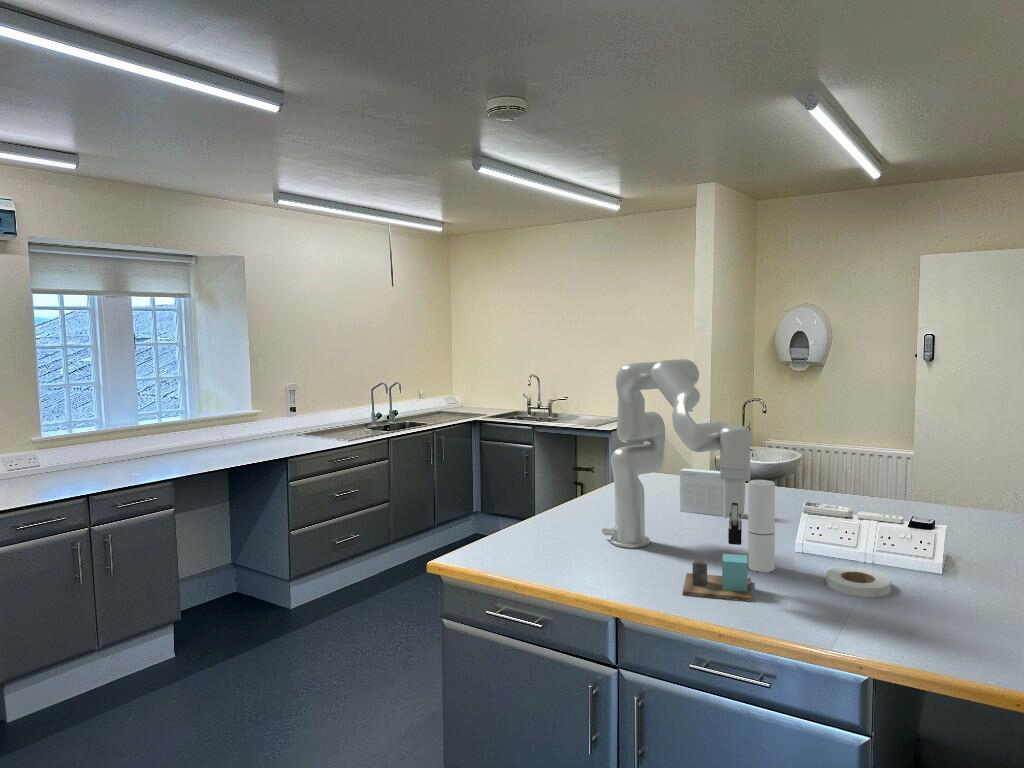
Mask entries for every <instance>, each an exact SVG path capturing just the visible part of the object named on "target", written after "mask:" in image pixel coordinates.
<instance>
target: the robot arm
mask: <svg viewBox="0 0 1024 768" xmlns="http://www.w3.org/2000/svg"><path fill="white" fill-rule="evenodd" d="M697 366H698V365H696V363H695V362H694V361H692V360H690V359H687V358H686V359H685V358H681V359H679V358H677V359H666V360H665V359H664V360H661V361H652V362H651V361H649V362H648V361H646V362H633V363H629V364H625V365H622V366H621V367H620V368H619V369H618V371H617V374H616V376H615V388H616V394H617V417H616V418H617V421H616V423H617V424H616V434H617V437H618V439H619V441H621V442H622V443H626V444H629V443H631V444H632V443H643V444H637V445H635V444H634V445H627V446H622V447H619V448H617V449H615V450H614V451H613V452H612V454H611V456H610V463H611V465H610V466H611V470H612V475H613V486H614V522H615V523H614V525H615V526H614V527H612V528H608V527H602V529H601V532H602V533H601V534H603V535H604V536H611V537H610V543H611V544H612V545H614V546H617V547H620V548H629V549H635V548H642V547H643V548H644V547H646V546H648V545H649V544H650V543H651V541H650V540H651V539H650V537H649V536H647V535H645V533H646V532H645V531H646V528H645V527H646V524H645V523H646V519H645V487H644V484H643V483H642V482H641V480H640V479H639V476H641V475H646V474H652V473H653V474H654V473H656V472H659V471H660V470H661V468H662V467H663V465H664V461H665V460H664V459H665V444H666V442H665V441H666V424H665V421H664V419H663V417H662V416H661V415H660V413H658V412H656V411H646V409H645V408H646V407H645V405H646V400H645V396H644V395H643V393H642V392H641V391H642V390H643V391H644V390H659V391H660V393H661V394H662V395H663V397H664V398H665V400H667V402H668V403H669V405H671V407H672V414H671V415H672V416H671V417H672V425H673V430H674V431H675V433H676V435H677V436H678V437H679V439H680V440H681V442H682V443H683V444H684V446H686V448H688V450H691V451H692V452H695V453H704V452H710V451H711V452H712V451H719V471H720V479H721V480H724V516H723V518H724V519H727V518H728V519H729V520H728V531H727V532H728V534H727V535H728V539H727V540H728V544H729V545H734V546H735V545H737V546H741V545H742V535H743V534H742V527H743V526H742V520H743V519H744V513H745V507H746V506H745V503H746V482H749V481H751V431H750V429H749V428H748V427H746V426H744V425H743V426H742V425H734V424H731V423H729V422H726V421H715V422H714V421H713V422H705V423H704V422H703V423H696V421H694V419H693V418H692V417H691V416H690V414H689V412H690V411H692V410H693V409H694V408H695V407H696V406H697V404H698V403H699V401H700V398H701V394H700V391H699V389H697V388H696V386H695V385H696V384H697V383H698V381H699V378H700V372H699V369H698V368H699V367H697Z"/></svg>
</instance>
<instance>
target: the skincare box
mask: <svg viewBox="0 0 1024 768" xmlns="http://www.w3.org/2000/svg"><path fill="white" fill-rule="evenodd" d="M679 512H683V513H692V514H699V515H700V514H701V515H709V516H717V517H724V480H721V479H720V470H713V469H711V470H709V469H697V468H682V469H679Z"/></svg>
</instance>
